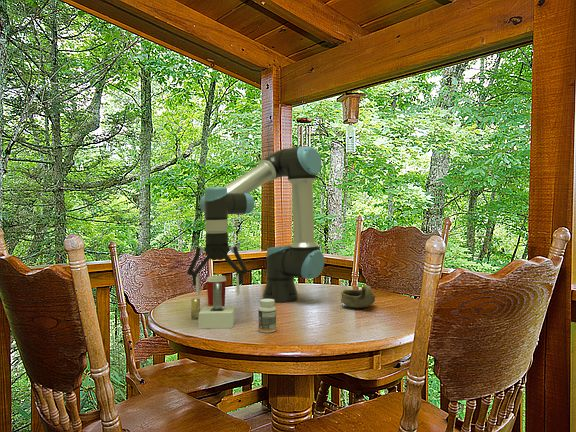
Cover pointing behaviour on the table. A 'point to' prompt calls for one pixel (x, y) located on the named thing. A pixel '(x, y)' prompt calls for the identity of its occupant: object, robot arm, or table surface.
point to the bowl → (358, 297)
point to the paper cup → (210, 282)
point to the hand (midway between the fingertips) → (218, 294)
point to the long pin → (217, 296)
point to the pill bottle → (267, 316)
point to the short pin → (195, 308)
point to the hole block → (217, 317)
